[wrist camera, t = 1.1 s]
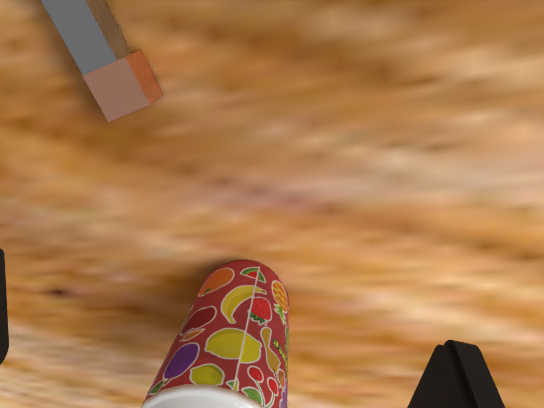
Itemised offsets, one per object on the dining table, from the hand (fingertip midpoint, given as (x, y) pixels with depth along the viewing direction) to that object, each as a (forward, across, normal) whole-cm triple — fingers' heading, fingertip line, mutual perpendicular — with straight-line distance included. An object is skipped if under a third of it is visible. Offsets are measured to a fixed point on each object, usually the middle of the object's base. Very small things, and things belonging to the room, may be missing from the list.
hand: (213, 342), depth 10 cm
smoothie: (+23, 0, +15) cm, 28 cm away
